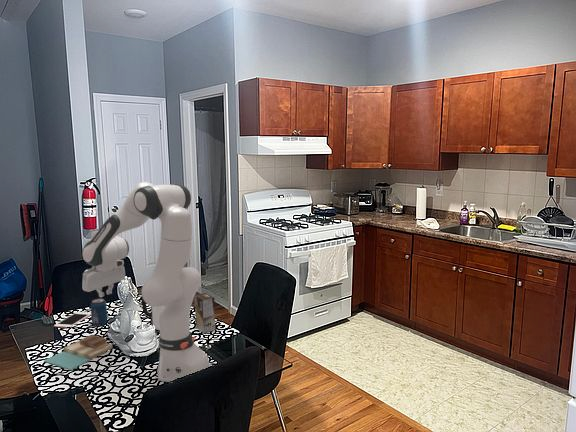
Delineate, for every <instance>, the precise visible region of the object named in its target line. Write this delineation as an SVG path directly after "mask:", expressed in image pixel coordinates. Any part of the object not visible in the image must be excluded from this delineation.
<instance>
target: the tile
mask: <svg viewBox="0 0 576 432" xmlns="http://www.w3.org/2000/svg"><path fill="white" fill-rule="evenodd" d="M79 341H80V345H83V346H87V347H90V348H94V349H95V348H97V347H99V346H101V345H103V344H105V343H107V338H105V337H101V336H98V335H94V334H91V335H88V336H85V337H83V338H81V339H79Z"/></svg>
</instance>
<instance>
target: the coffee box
mask: <svg viewBox="0 0 576 432" xmlns="http://www.w3.org/2000/svg"><path fill="white" fill-rule="evenodd" d="M215 306H216V305H215V297H214V296H212V295H211V294H209V293H207V292H203V293H199V294H195V296H194V310H195V328H196V329H198V330H199V331H200V332H202V334H205V333H209V332H213V331H215V330H216V309H215V308H216V307H215Z"/></svg>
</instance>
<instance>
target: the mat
mask: <svg viewBox="0 0 576 432" xmlns="http://www.w3.org/2000/svg"><path fill="white" fill-rule="evenodd" d="M90 361H91V360H90V359H87V358H84V357H80V356H77V355H74V354H70V353H67V352H64V350H63V351H61V352H59V353H57V354H55V355H53V356H50V357H48V358H46V359H44V360H43V362H44V363H47V364H49V365H53V366H54V367H55V366H56V367H59V368H62V369H65V370H69V371H73V370H75V369H76V367H77V368H78V366H79V367H80V365H81V366H83V365H85V364H86V363H88V362H90ZM84 363H85V364H84ZM82 364H83V365H82Z"/></svg>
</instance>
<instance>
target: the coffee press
mask: <svg viewBox="0 0 576 432" xmlns="http://www.w3.org/2000/svg"><path fill="white" fill-rule="evenodd" d="M141 306H142V312H143V313H144V315H145V316H147V317H148V318H151V326H153V325H154V326H155V328H156V329H155V330H157V331H160V325H159V317H160V314H161V312H162V311H163V310H164V308H165V306H166V305H163V306H156V307H151V306H150V312H149V310H148V308H147V303H146V302H145V301H144V300H143V297H142V296H141Z"/></svg>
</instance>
